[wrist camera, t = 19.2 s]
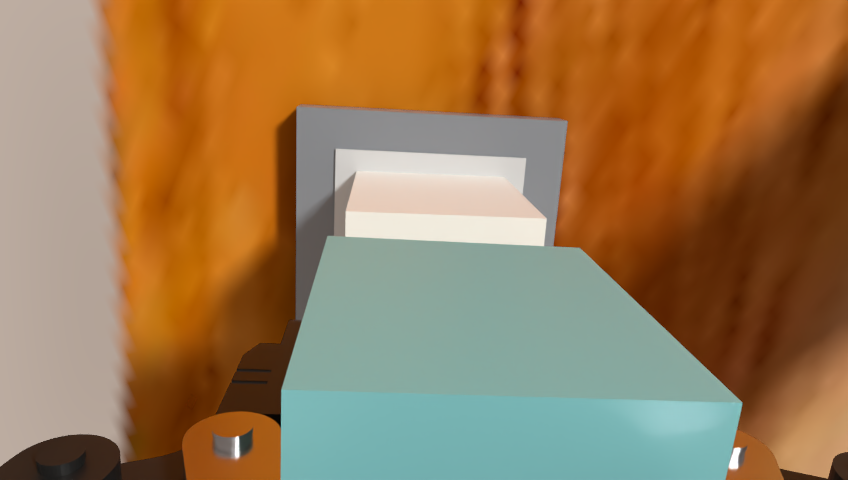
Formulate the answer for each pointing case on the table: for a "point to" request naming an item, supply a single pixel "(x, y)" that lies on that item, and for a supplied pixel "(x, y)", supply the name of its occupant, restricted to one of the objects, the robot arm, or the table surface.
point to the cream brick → (442, 209)
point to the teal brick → (491, 372)
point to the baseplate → (412, 163)
